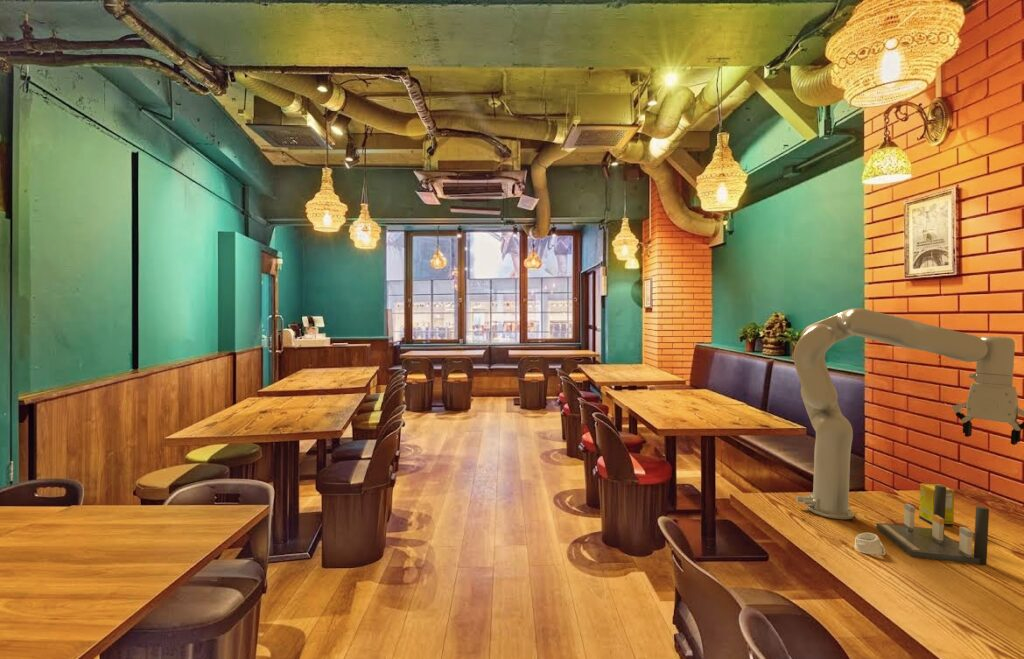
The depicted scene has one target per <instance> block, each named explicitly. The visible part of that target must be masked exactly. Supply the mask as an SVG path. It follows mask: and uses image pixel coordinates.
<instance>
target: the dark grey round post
mask: <svg viewBox="0 0 1024 659" xmlns="http://www.w3.org/2000/svg"><path fill="white" fill-rule="evenodd" d="M941 485H942V484H940V485H935V500H934V515H938V516H940V517H941V518H943V519H944V528H945V527H946V526H945V505H946V487H947V486H945V485H943V486H941ZM989 514H990V509H989V508H988V507H984V506H975V516H974V517H975V518H974V520H975V521H974V538H973V542H974V543H973V544H974V545H973V554H974V556H975V557H977V558H980V564H979V565H981V566H987V564H988V563H987V561H988V560H987V559H988V541H989V540H988V539H989V521H990V520H989V519H990V518H989V517H990V515H989ZM943 534H944V535H945V532H944V533H943Z"/></svg>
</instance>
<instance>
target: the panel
mask: <svg viewBox="0 0 1024 659" xmlns="http://www.w3.org/2000/svg"><path fill="white" fill-rule="evenodd" d="M875 526H876V530H878V531H879V532H880V533H882V534H883V535H885V537H887V538H888V539H889V540H890V541H892V542H893V543H894V544H896V545H897V546H898V547H899V548H901V549H902V551H904V552H905V553H907V555H909V556H910V557H912V558H918V559H928V560H935V561H936V560H937V561H945V562H946V561H947V562H955V563H956V562H957V563H964V564H965V563H966V564H973V565H980V558H977V557H975V556H974V552H972V555H968V554H966V553H964V552H963V551H961V550H960V549H959V542H956V541H955V540H953V539H952V538H950V537H949V536H947V535H946V534H945V533H944V534H943V541H940V540H938V539H936V538H935V537H933V536H932V527H931V528H930V527H920V526H914V528H910V527H908V526H907V525H906V524H904V525H901V524H890V523H889V524H888V523H879V522H876V525H875Z"/></svg>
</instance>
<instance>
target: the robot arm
mask: <svg viewBox="0 0 1024 659" xmlns="http://www.w3.org/2000/svg"><path fill="white" fill-rule="evenodd" d="M854 336H858V337H860V338H865V339H869V340H873V341H877V342H881V343H885V344H887V345H891V346H895V347H899V348H903V349H907V350H908V349H910V350H917V351H923V352H927V353H932V354H936V355H940V356H943V357H945V358H947V359H951V360H954V361H960V362H965V363H975V362H976V367H975V373H970V374H969V375H968V378H969V379H971V380H974V382H971V384H970V386H969V391H968V395H967V401H966V402H962V403H958V404H955V405H952V406H951V408H952V410H953V412H954V413H955V416H956V417H957V418H958V419H959V420H961V422H962V433H963V434H964V437H966V438H969V437H971V436H972V434H973V423H972V421H973V419H977V420H985V421H990V422H991V421H993V422H999V423H1007V424H1009V425H1010V426H1011V427H1012V428H1013V429H1011V435H1010V444H1011V445H1013V446H1015V445H1018V443H1020V442H1021V438H1022V437H1021V436H1022V430H1023V429H1024V422H1022V423H1020V422H1019V421H1018V419H1019V415H1020V416H1022V417H1024V409H1022V408H1020V407H1019V400H1018V399H1019V397H1018V392H1017V388H1016V387H1015V386H1014V385H1013V382H1014V381H1013V380H1014V366H1015V363H1014V362H1015V349H1016V342H1015V340H1014V339H1013V338H1011V337H1007V336H981V337H980V336H977V335H972V334H969V333H965V332H961V331H957V330H954V329H953V330H952V329H947V328H943V327H939V326H936V325H931V324H927V323H924V322H921V321H916V320H914V319H913V320H912V319H908V318H905V317H900V316H896V315H891V314H887V313H883V312H880V311H877V310H876V311H875V310H871V309H866V308H861V307H855V308H848V309H846V310H843V311H841V312H838V313H837V314H834V315H832V316H830V317H827V318H824V319H822V320H819V321H816V322H814V323H811V324H810V325H808V326H806V327H805V328H804V329H803V330H802V333H801V336H800V338H799V339H798V340H797V343H796V345H795V347H794V350H793V363H794V368H795V369H796V373H797V376H798V380H799V383H800V384H801V385H800V396H801V399H802V401H803V402H802V403H803V404H804V408H805V409H806V413H807V415H808V417H809V421H810V423H811V426H812V428H813V429H814V431H815V440H814V441H815V444H814V450H813V451H814V452H813V455H814V457H813V462H814V463H813V487H812V488H813V490H812V493H811V492H810V493H809V495H806V496H803V495H796V497H795V500H796V502H797V503H802V504H803V505H806V509H808V511H810V512H811V513H814V514H815V515H818V516H821V517H824V518H825V517H826V518H828V519H835V520H850V519H851V520H852V519H853V518H854V517H855V512H854V511H853V510H852V509H851V508H850V507H849V503H850V502H849V497H850V476H851V475H850V474H851V473H850V472H851V471H850V470H851V452H852V444H853V438H854V436H853V435H854V433H853V432H854V430H853V426H852V424H851V422H850V420H848V418H846V417H845V416H844V415H843V413H842V411H841V408H840V405H839V402H838V398H839V397H838V396H839V395H838V391H837V388H836V387H835V385H834V382H833V380H832V378H831V375H830V373H829V370H828V369H829V368H828V366H827V363H826V353H827V351H828V350H829V349H830V348H832V346H833V345H834V344H835V343H838V342H840V341H843V340H845V339H849V338H850V337H854ZM963 408H964V409H965V414H966V415H965V414H964V413H963V412H962V410H961V409H963Z"/></svg>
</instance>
